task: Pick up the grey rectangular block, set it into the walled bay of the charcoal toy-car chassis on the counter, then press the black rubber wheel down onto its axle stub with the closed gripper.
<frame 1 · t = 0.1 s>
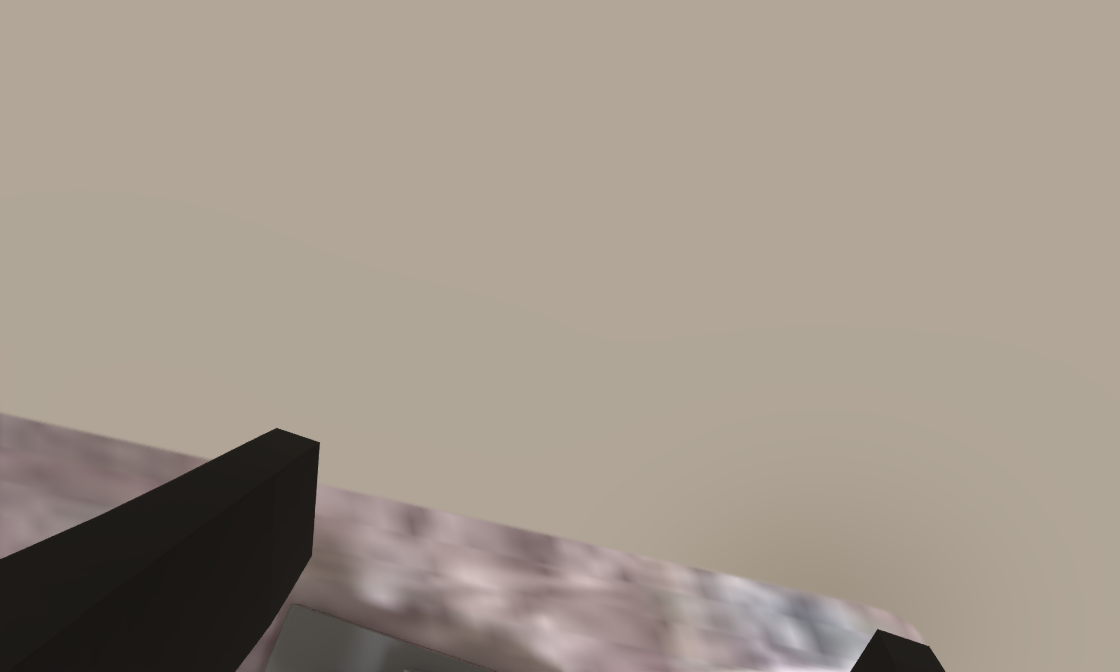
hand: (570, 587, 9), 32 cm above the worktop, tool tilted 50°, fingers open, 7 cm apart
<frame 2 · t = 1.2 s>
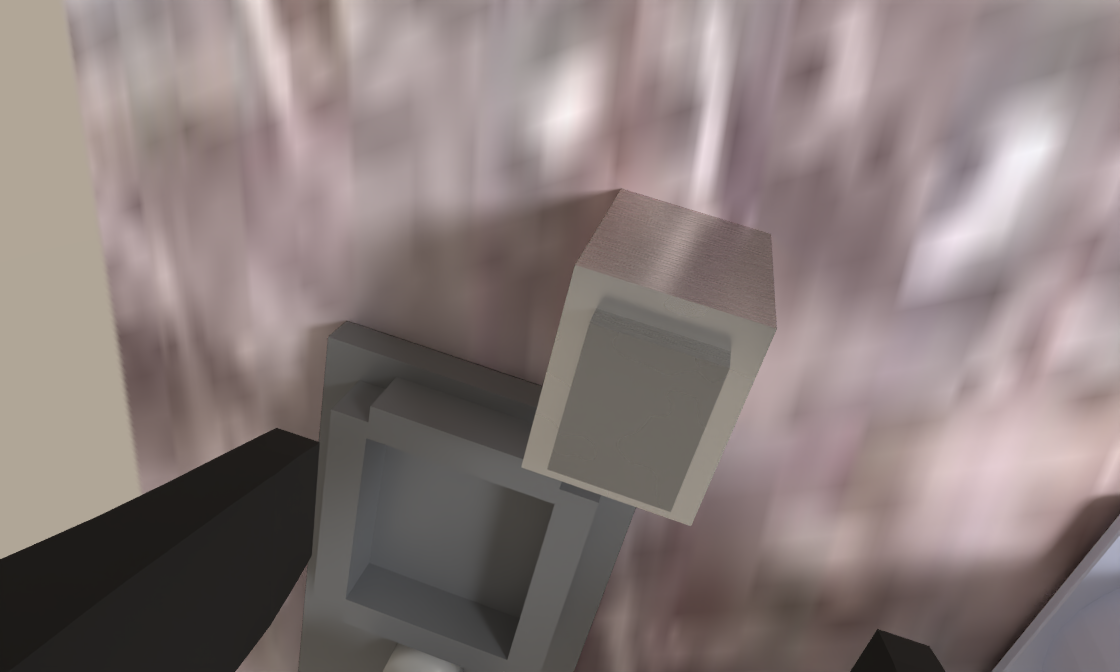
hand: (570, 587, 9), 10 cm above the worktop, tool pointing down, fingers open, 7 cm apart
chassis: (456, 567, 23), on the worktop
grey rectangular block: (666, 297, 18), on the worktop
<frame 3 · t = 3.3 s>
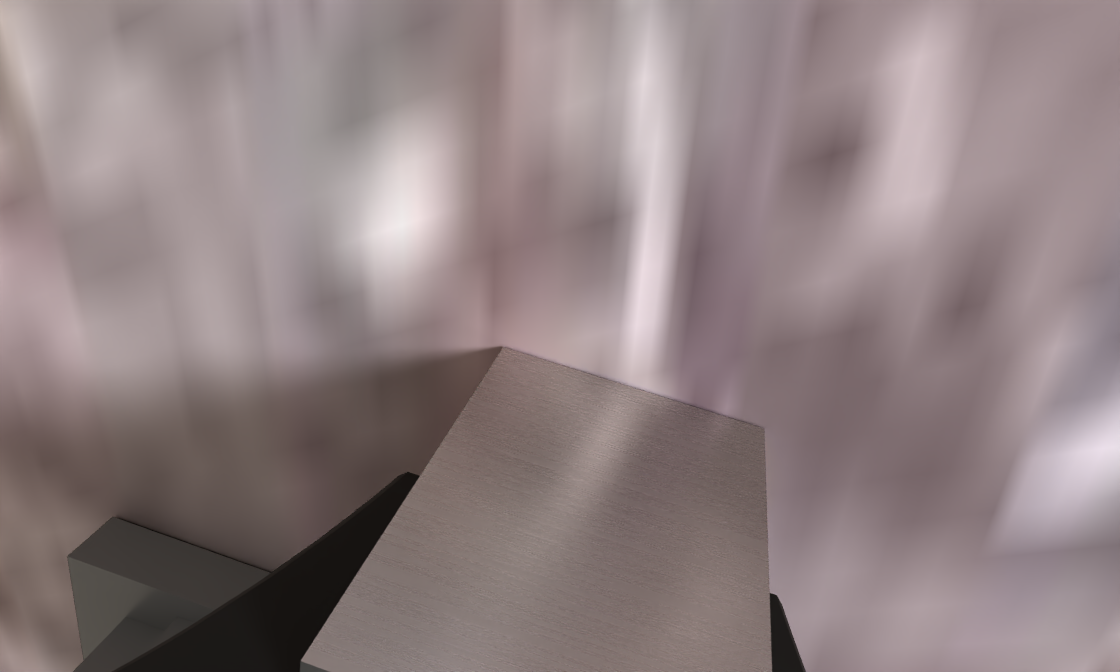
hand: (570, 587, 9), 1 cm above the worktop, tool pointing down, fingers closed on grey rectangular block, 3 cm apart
grey rectangular block: (590, 514, 11), on the worktop, touching gripper
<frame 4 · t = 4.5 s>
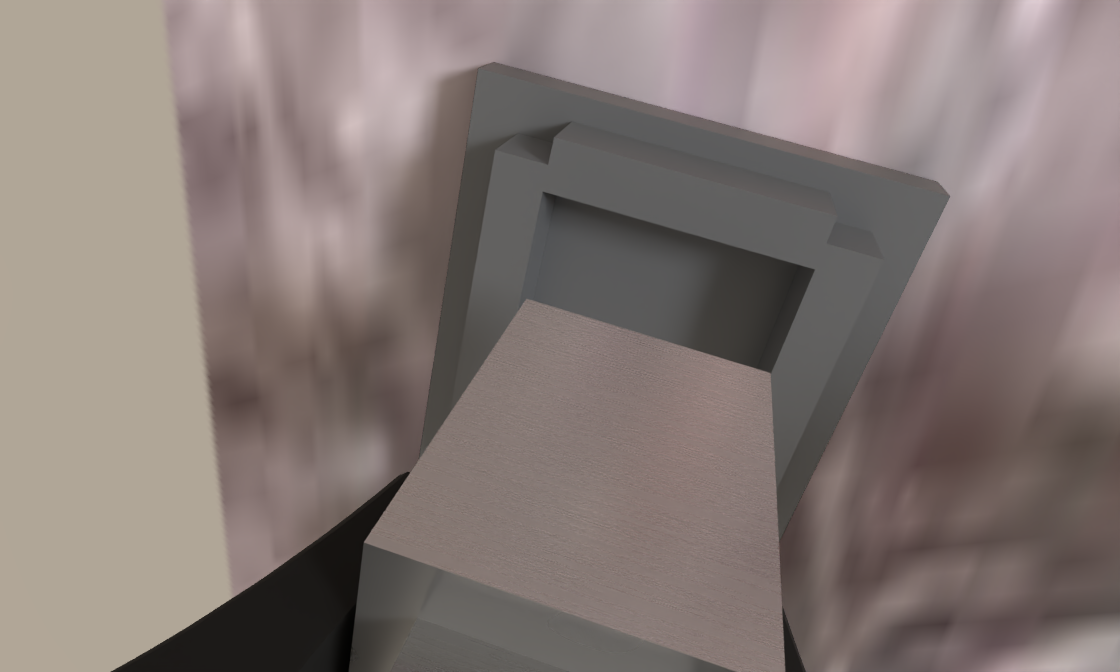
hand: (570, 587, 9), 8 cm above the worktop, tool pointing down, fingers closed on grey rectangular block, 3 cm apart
chassis: (615, 421, 18), on the worktop
grey rectangular block: (606, 460, 11), point 6 cm above the worktop, touching gripper
when the fingers open (3 cm above the worktop, at t = 6.2 s): grey rectangular block stays where it is, resting on chassis.
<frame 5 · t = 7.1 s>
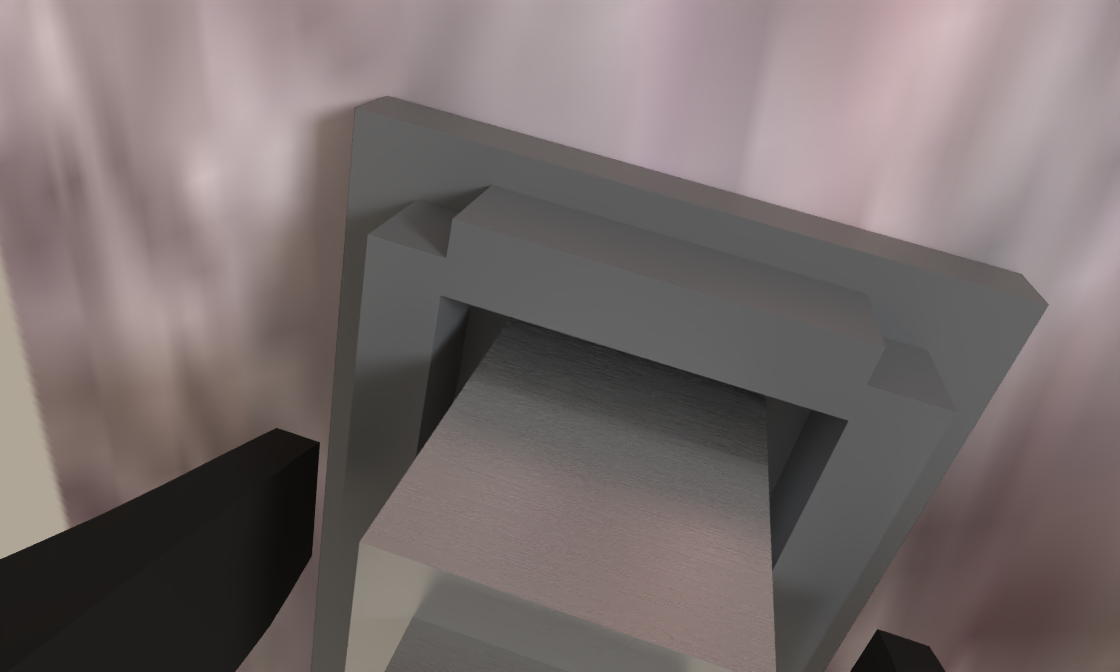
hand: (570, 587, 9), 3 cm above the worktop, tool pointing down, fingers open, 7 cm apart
chassis: (571, 562, 14), on the worktop
grey rectangular block: (602, 460, 11), point 1 cm above the worktop, touching chassis
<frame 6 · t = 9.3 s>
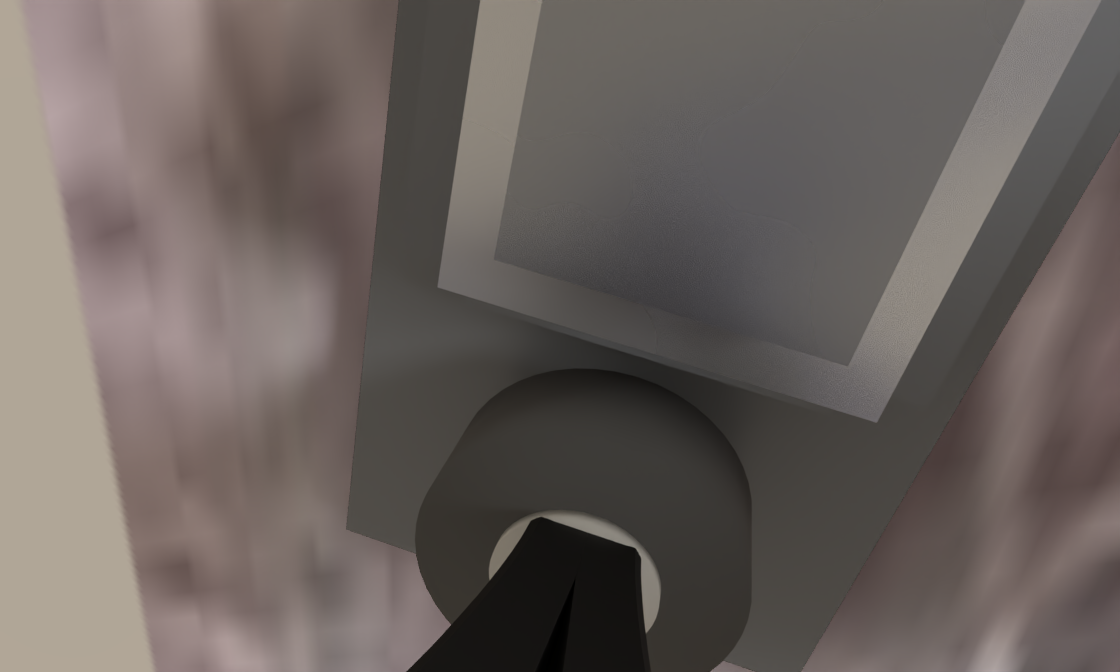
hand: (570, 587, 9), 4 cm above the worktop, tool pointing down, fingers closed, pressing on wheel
chassis: (681, 228, 11), on the worktop
wheel: (585, 540, 10), point 3 cm above the worktop, slide at 0.4 cm, touching gripper
grey rectangular block: (750, 7, 9), point 1 cm above the worktop, touching chassis
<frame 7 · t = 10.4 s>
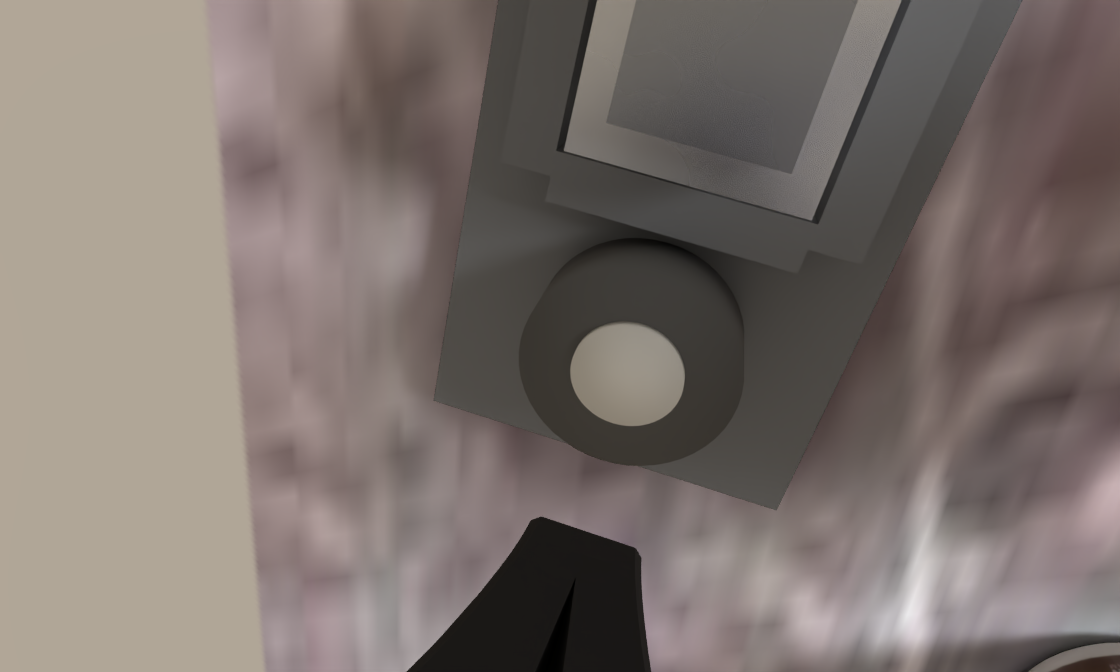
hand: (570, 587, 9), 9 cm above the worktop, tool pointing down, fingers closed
chassis: (693, 156, 16), on the worktop
wheel: (632, 355, 15), point 3 cm above the worktop, slide at 0.0 cm
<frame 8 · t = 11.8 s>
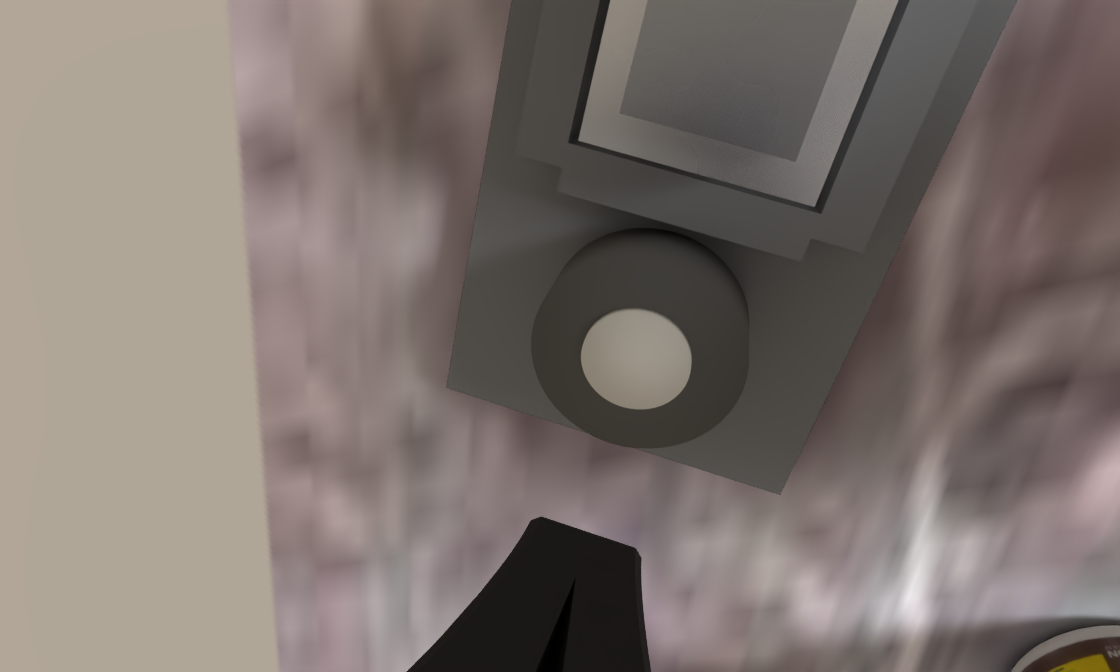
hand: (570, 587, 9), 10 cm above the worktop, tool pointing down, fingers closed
chassis: (700, 149, 16), on the worktop
wheel: (641, 341, 15), point 3 cm above the worktop, slide at 0.0 cm
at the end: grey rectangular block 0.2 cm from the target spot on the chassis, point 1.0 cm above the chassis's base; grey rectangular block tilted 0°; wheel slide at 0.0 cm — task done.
